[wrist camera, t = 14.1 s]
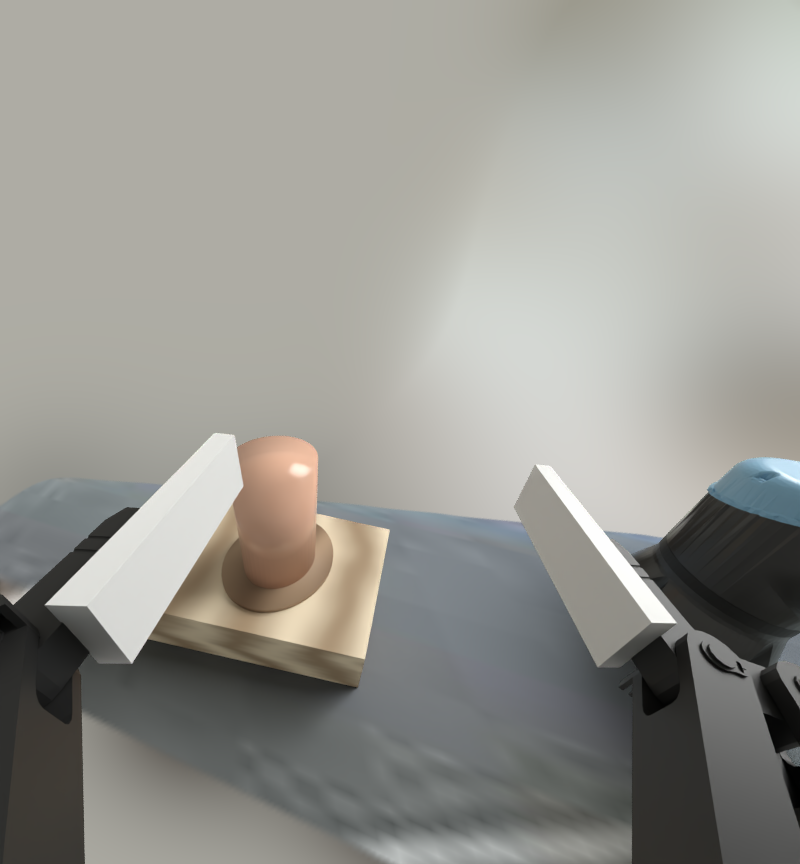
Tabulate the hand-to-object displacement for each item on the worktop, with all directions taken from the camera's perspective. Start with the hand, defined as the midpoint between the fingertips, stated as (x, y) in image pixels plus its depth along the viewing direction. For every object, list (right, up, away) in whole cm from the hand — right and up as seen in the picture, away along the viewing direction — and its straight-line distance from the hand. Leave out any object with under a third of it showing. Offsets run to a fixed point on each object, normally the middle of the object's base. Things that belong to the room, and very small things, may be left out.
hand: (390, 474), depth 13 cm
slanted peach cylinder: (-11, -10, +15) cm, 21 cm away
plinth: (-12, -15, +18) cm, 27 cm away
